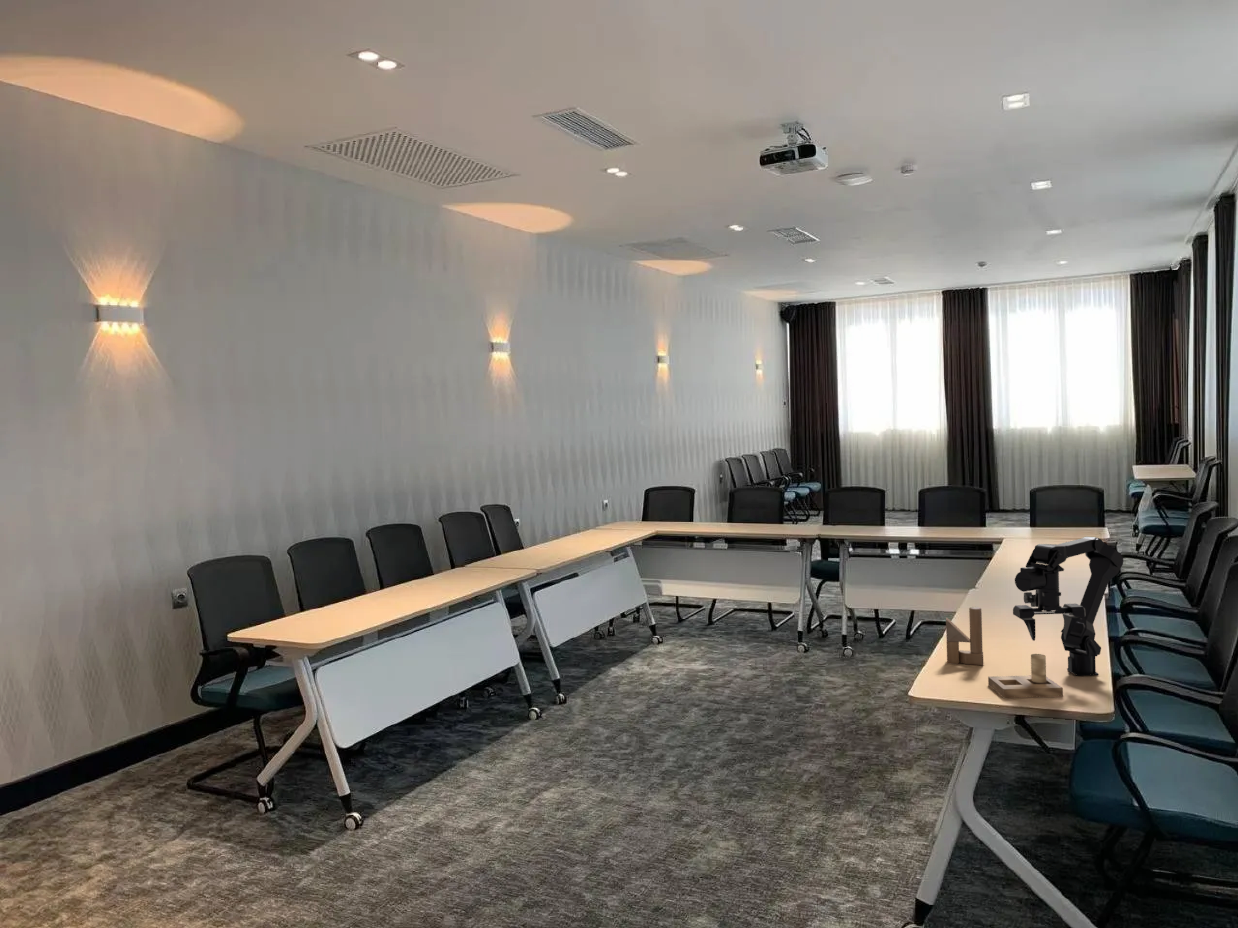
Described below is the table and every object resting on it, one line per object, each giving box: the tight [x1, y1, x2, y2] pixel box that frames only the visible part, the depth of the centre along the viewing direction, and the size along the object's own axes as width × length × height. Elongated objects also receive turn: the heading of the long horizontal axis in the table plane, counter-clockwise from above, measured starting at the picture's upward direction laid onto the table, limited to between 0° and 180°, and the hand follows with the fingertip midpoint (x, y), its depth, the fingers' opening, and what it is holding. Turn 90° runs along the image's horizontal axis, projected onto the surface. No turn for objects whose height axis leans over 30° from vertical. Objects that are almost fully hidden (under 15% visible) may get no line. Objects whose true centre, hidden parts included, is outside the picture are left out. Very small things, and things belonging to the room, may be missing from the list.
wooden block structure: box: [945, 606, 984, 666], centre depth 277 cm, size 4×11×18 cm, turn 68°
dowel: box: [1030, 653, 1047, 684], centre depth 248 cm, size 4×4×10 cm
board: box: [987, 674, 1064, 699], centre depth 248 cm, size 16×12×2 cm
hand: (1049, 639), depth 256 cm, fingers open, 9 cm apart
